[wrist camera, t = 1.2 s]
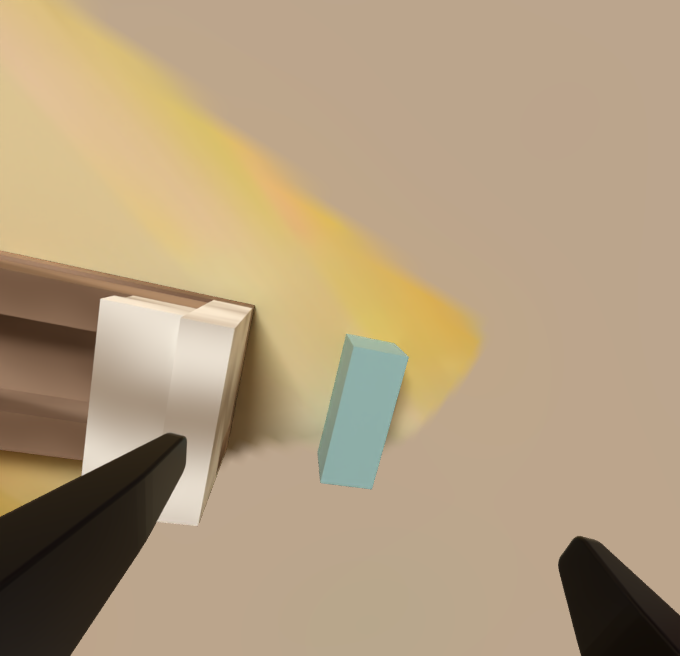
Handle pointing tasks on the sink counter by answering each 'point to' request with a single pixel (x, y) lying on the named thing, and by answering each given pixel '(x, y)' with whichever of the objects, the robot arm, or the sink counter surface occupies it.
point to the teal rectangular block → (360, 411)
